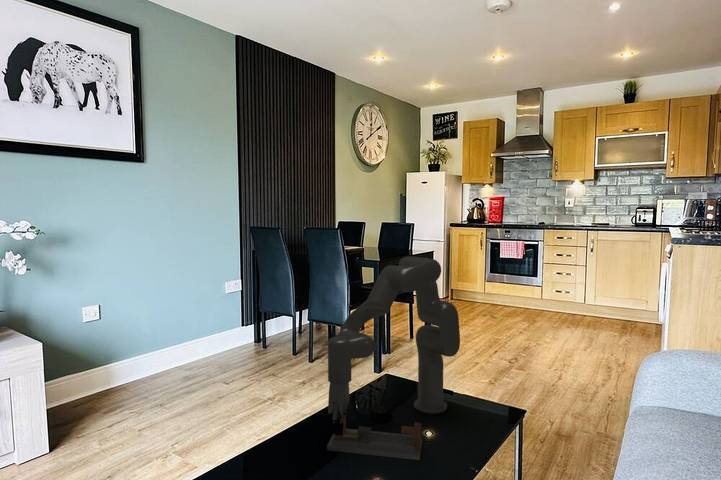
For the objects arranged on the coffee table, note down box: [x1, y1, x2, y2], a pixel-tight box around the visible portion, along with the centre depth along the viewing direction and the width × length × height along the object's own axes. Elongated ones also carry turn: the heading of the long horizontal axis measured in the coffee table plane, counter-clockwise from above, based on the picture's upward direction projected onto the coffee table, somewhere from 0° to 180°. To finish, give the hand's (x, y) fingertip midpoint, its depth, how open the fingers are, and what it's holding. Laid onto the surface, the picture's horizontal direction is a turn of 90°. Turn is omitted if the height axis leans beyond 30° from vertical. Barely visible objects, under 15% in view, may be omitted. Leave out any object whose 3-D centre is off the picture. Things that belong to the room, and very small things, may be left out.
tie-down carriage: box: [334, 414, 372, 441], centre depth 142 cm, size 5×12×7 cm, turn 78°
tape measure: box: [370, 405, 393, 423], centre depth 160 cm, size 7×7×4 cm
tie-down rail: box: [326, 422, 423, 461], centre depth 140 cm, size 10×29×8 cm, turn 78°
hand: (340, 430), depth 142 cm, fingers closed on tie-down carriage, 4 cm apart
